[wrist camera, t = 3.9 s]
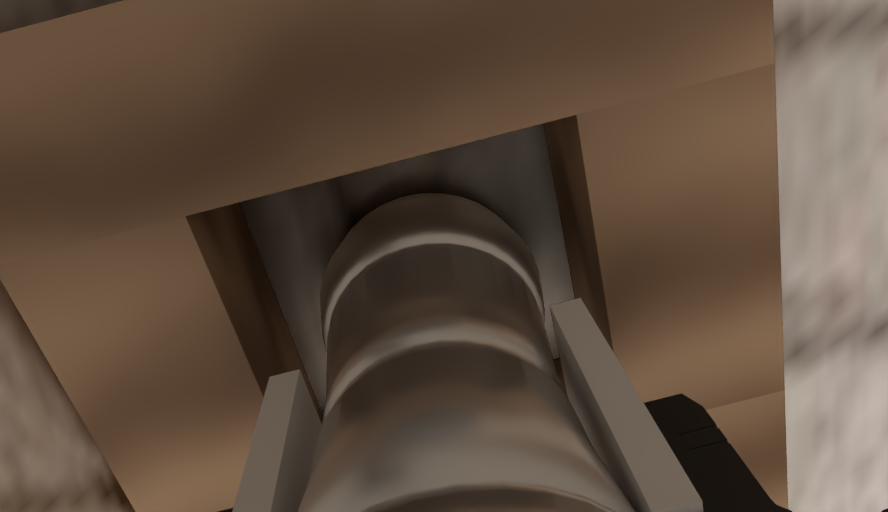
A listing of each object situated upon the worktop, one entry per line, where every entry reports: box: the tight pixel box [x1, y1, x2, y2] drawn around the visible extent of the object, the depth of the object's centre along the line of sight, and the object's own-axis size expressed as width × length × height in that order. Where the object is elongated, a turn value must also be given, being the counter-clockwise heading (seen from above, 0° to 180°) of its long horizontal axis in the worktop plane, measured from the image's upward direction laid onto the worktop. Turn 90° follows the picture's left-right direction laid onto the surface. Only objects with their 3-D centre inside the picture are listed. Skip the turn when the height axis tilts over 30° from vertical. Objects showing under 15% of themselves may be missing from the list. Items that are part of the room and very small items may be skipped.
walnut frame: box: [0, 0, 788, 512], centre depth 20 cm, size 20×20×4 cm
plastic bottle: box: [297, 193, 636, 512], centre depth 13 cm, size 6×7×20 cm
